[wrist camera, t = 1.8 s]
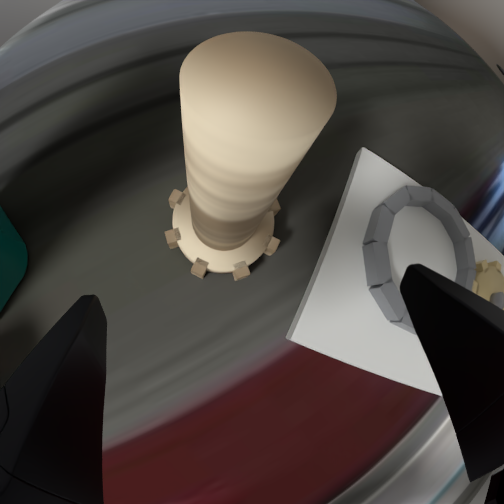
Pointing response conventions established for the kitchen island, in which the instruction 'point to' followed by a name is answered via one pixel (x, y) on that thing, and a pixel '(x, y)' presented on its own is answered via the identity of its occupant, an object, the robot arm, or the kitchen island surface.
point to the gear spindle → (243, 144)
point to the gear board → (344, 279)
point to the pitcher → (10, 259)
